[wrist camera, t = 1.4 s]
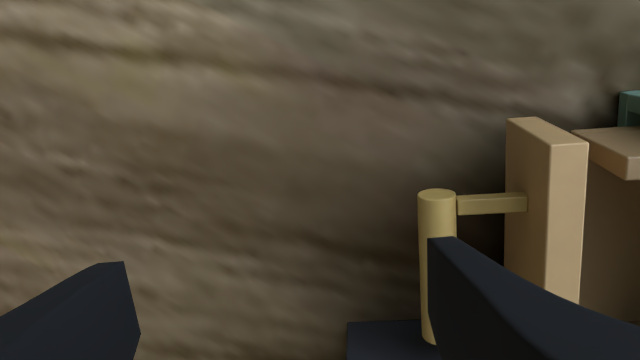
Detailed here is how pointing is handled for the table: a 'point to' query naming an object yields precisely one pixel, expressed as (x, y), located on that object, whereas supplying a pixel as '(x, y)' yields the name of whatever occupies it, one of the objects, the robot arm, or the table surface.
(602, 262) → the drawer
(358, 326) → the block
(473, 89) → the table surface
